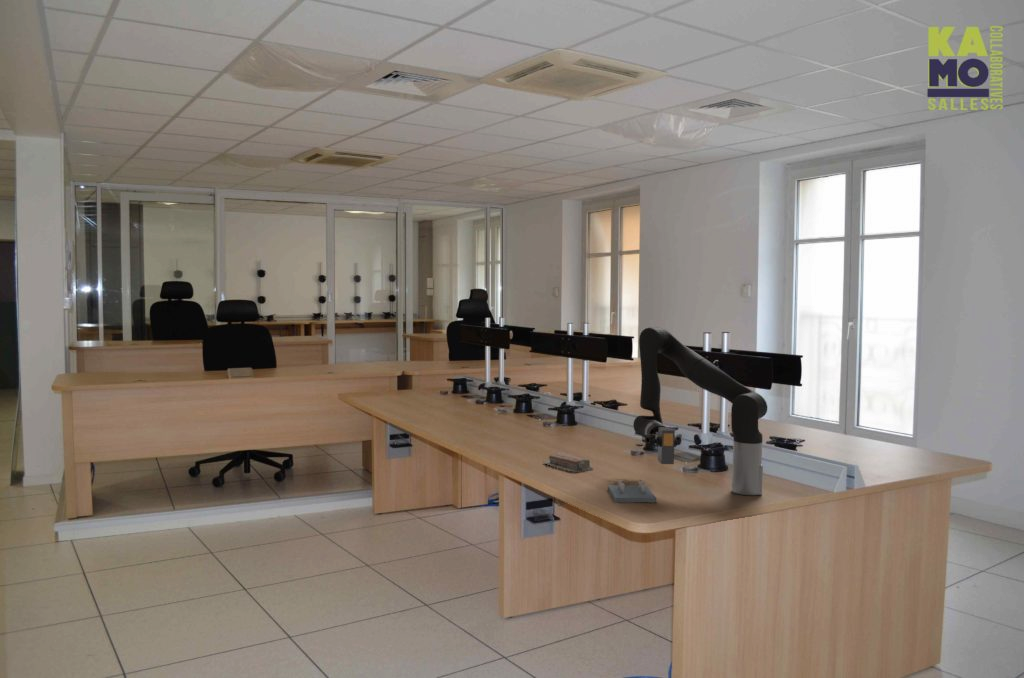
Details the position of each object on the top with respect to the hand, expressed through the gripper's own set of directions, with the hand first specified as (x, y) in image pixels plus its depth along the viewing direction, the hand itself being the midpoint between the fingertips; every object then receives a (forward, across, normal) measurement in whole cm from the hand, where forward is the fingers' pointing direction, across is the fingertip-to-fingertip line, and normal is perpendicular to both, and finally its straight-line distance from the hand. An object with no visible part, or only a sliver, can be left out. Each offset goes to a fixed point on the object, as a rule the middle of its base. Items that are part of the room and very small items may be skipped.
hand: (667, 443), depth 243 cm
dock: (-2, -11, +18) cm, 21 cm away
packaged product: (-44, -28, +19) cm, 55 cm away
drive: (-3, 0, +7) cm, 7 cm away
